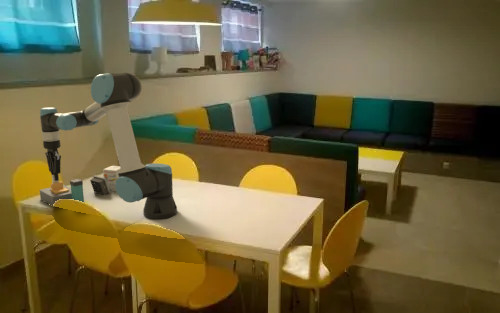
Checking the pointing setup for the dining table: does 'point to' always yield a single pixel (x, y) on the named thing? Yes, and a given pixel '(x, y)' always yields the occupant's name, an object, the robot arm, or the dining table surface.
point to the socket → (54, 195)
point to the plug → (77, 189)
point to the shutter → (58, 188)
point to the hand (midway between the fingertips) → (56, 186)
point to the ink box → (111, 176)
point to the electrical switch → (100, 185)
